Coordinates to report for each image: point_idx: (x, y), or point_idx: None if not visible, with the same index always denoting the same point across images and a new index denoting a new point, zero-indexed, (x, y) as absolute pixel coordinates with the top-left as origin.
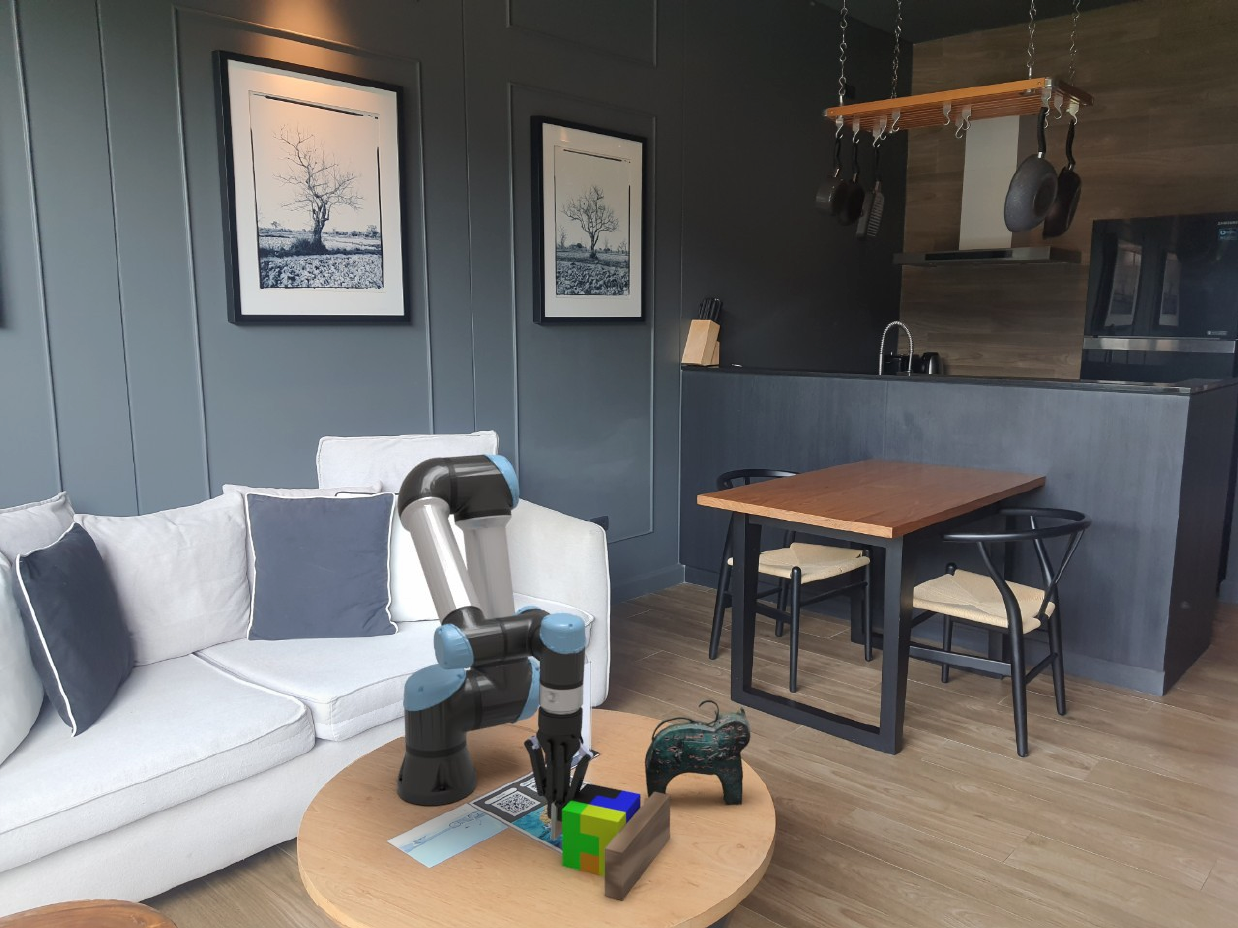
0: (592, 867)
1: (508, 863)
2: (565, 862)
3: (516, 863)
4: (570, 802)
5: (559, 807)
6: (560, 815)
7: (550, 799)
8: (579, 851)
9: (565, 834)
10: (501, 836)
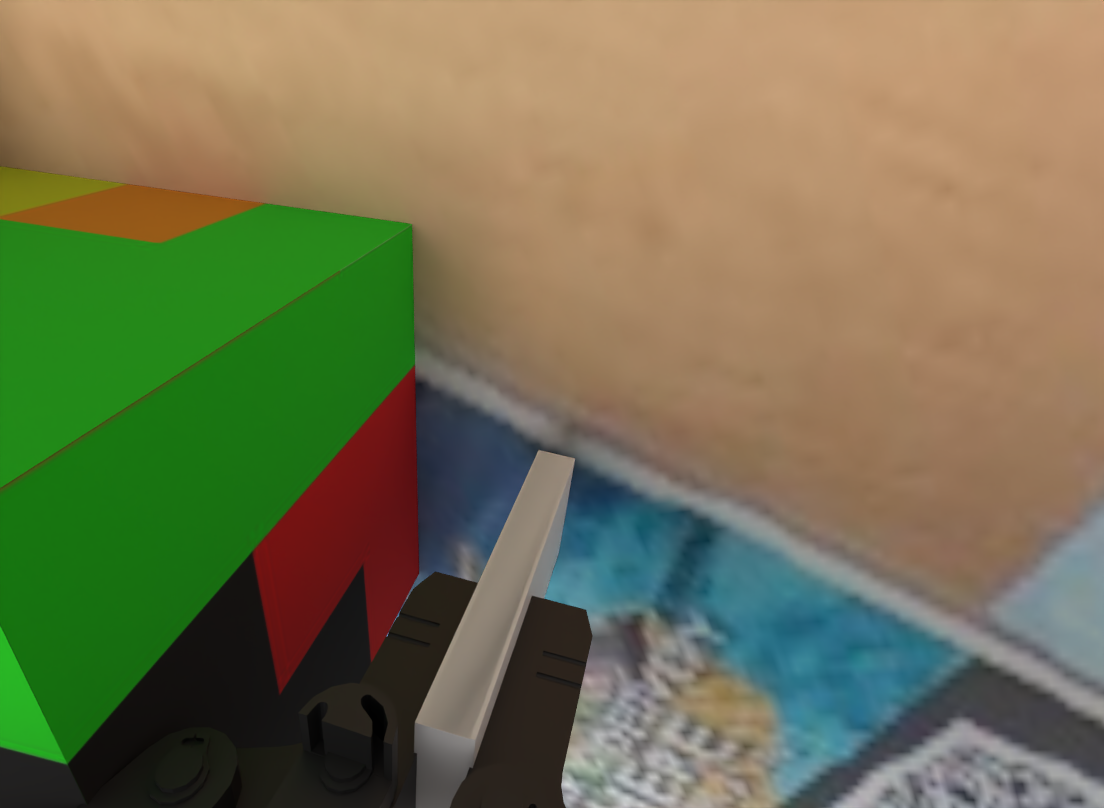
0: (142, 200)
1: (880, 129)
2: (370, 229)
3: (800, 151)
4: (29, 722)
5: (411, 700)
6: (432, 622)
7: (477, 802)
8: (169, 245)
9: (211, 316)
10: (1027, 499)
